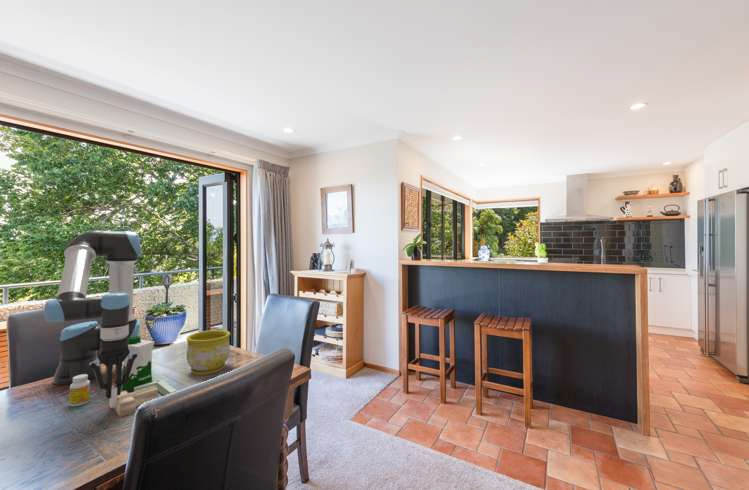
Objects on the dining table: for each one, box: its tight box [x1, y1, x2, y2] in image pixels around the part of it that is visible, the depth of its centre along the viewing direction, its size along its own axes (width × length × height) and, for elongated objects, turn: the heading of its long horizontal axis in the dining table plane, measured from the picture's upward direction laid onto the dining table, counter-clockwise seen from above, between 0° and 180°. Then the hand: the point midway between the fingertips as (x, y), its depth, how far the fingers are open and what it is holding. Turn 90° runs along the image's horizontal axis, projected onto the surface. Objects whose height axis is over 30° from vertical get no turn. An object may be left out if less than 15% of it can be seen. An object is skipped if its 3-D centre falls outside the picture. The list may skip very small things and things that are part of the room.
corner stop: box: [133, 379, 177, 396], centre depth 116 cm, size 16×9×3 cm, turn 53°
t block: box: [112, 386, 159, 418], centre depth 110 cm, size 12×12×4 cm
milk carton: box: [121, 335, 155, 392], centre depth 124 cm, size 9×9×20 cm
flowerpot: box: [186, 329, 231, 376], centre depth 142 cm, size 18×18×16 cm
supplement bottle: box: [68, 374, 91, 407], centre depth 111 cm, size 5×5×10 cm
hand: (113, 406), depth 105 cm, fingers closed
